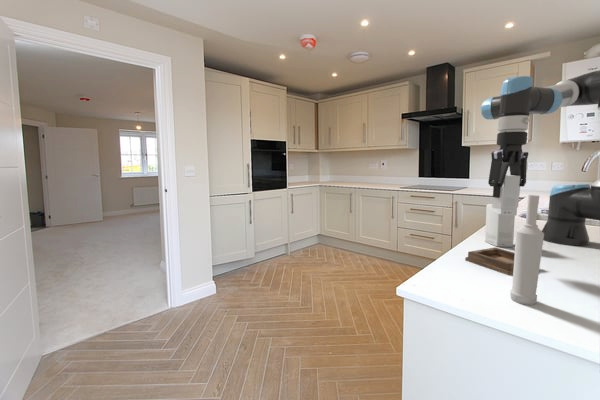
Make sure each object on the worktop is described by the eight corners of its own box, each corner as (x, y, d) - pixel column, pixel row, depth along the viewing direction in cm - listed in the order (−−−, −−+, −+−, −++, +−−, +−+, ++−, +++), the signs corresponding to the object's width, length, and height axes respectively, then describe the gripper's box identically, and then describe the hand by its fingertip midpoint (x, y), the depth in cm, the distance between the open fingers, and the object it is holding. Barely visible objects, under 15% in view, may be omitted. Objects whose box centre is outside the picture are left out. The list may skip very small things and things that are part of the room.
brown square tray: (493, 255, 107) (494, 246, 107) (538, 268, 95) (539, 258, 94) (465, 260, 102) (465, 251, 102) (507, 274, 89) (508, 264, 89)
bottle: (512, 293, 77) (522, 193, 74) (538, 300, 73) (550, 195, 70) (507, 300, 73) (517, 195, 70) (534, 307, 70) (546, 197, 66)
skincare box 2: (513, 247, 117) (517, 206, 115) (495, 247, 117) (499, 206, 115) (499, 241, 126) (502, 203, 124) (483, 241, 126) (486, 203, 124)
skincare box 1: (517, 215, 93) (521, 175, 91) (501, 215, 94) (504, 175, 92) (507, 212, 99) (511, 174, 97) (493, 212, 100) (496, 174, 98)
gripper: (503, 129, 86) (495, 211, 89) (546, 132, 93) (537, 207, 96) (478, 131, 92) (471, 207, 95) (520, 133, 100) (513, 204, 103)
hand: (505, 207), depth 96 cm, fingers closed on skincare box 1, 7 cm apart
